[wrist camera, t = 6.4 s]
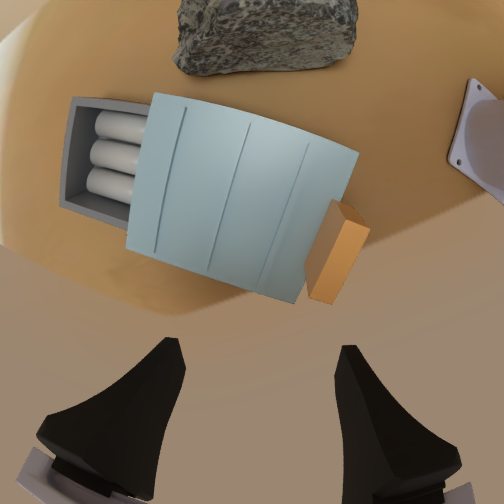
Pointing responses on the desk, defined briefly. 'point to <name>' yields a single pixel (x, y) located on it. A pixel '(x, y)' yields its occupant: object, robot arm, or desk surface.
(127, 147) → the tub
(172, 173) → the lid
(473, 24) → the desk surface
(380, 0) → the desk surface
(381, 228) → the desk surface
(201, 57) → the stone
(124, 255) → the desk surface
